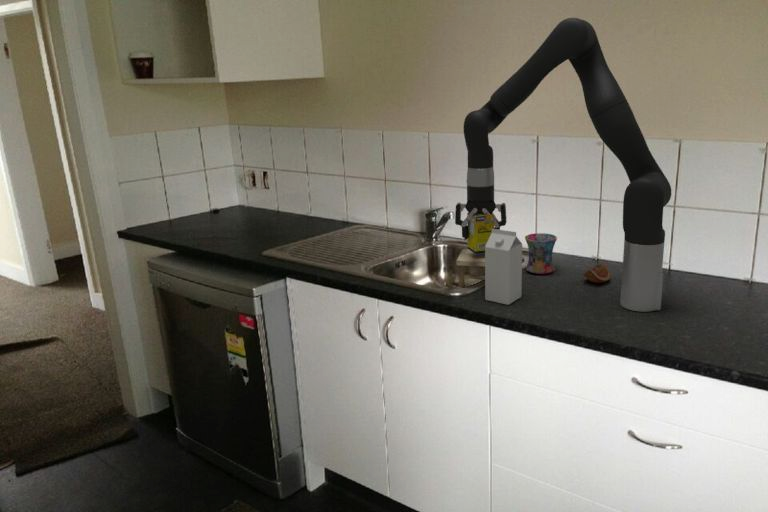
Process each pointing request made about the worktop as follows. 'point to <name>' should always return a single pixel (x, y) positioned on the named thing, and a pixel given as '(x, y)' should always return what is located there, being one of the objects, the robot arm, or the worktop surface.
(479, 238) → the supplement box
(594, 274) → the fruit slice
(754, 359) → the worktop surface
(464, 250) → the stool
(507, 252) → the white milk carton
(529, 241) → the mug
